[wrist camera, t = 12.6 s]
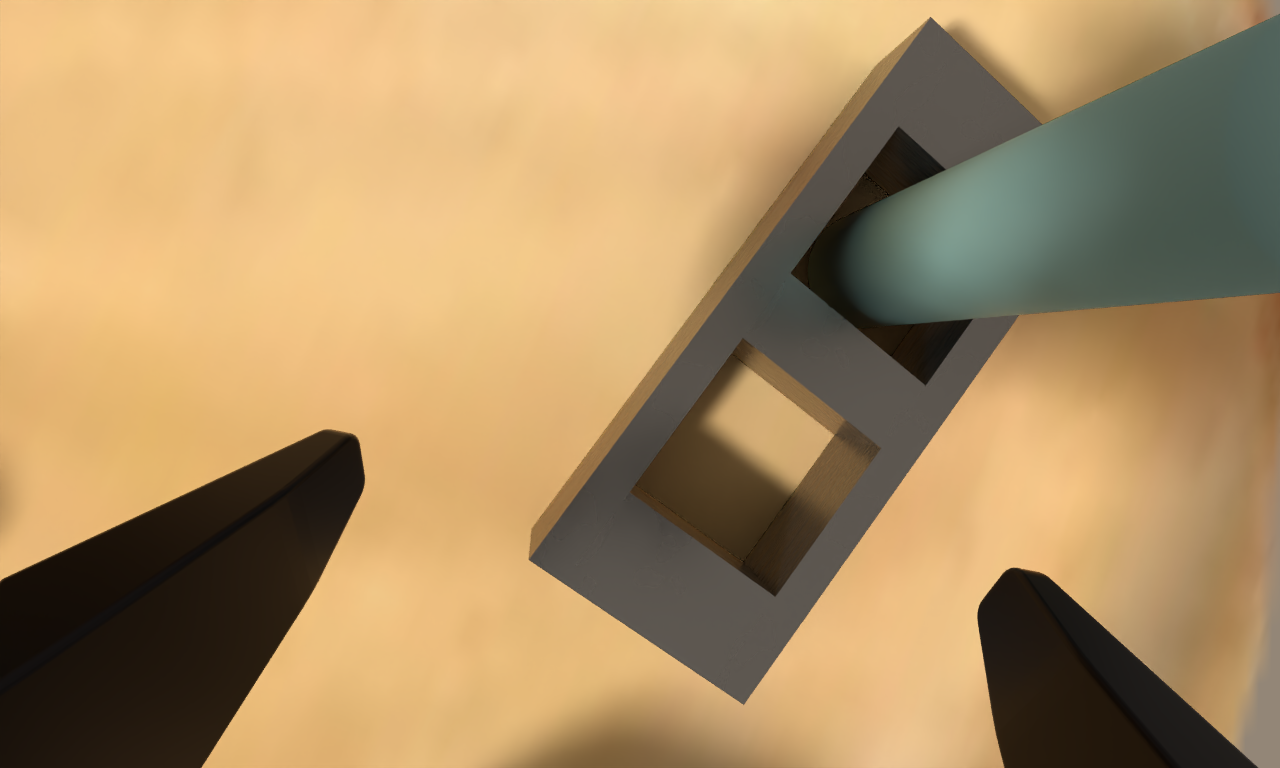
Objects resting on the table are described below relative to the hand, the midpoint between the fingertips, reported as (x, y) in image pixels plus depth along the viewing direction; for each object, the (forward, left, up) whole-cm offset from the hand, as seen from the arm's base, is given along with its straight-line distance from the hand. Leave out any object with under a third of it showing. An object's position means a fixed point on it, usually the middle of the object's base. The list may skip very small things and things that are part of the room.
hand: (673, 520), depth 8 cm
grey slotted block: (+3, -7, -12) cm, 14 cm away
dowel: (+6, -9, -12) cm, 16 cm away
